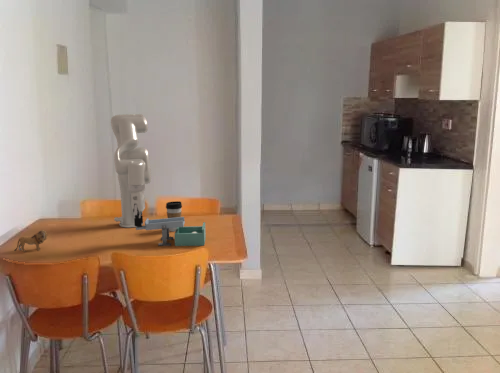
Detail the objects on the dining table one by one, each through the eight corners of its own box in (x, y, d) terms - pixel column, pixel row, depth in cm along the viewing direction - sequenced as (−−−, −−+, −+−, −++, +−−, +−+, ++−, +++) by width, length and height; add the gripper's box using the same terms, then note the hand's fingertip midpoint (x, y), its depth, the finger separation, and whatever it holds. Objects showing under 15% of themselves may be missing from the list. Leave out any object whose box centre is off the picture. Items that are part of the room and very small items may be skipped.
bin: (174, 246, 226) (174, 229, 225) (177, 238, 238) (177, 222, 236) (204, 245, 227) (204, 229, 225) (205, 237, 239) (205, 222, 237)
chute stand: (158, 246, 226) (157, 226, 224) (161, 238, 238) (160, 219, 236) (170, 246, 226) (169, 226, 224) (173, 238, 238) (172, 219, 236)
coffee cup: (179, 232, 247) (178, 204, 244) (164, 231, 249) (163, 203, 245) (185, 227, 255) (184, 200, 252) (170, 227, 257) (169, 200, 253)
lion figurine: (48, 246, 227) (46, 228, 225) (48, 250, 222) (46, 231, 220) (14, 250, 222) (12, 231, 220) (13, 253, 217) (11, 235, 215)
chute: (135, 231, 227) (133, 216, 225) (138, 226, 234) (136, 212, 232) (183, 226, 227) (181, 211, 225) (184, 222, 234) (183, 207, 233)
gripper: (141, 191, 218) (143, 229, 222) (147, 184, 234) (149, 220, 238) (125, 191, 218) (127, 230, 222) (132, 184, 234) (134, 220, 238)
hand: (138, 224), depth 230 cm, fingers open, 3 cm apart
